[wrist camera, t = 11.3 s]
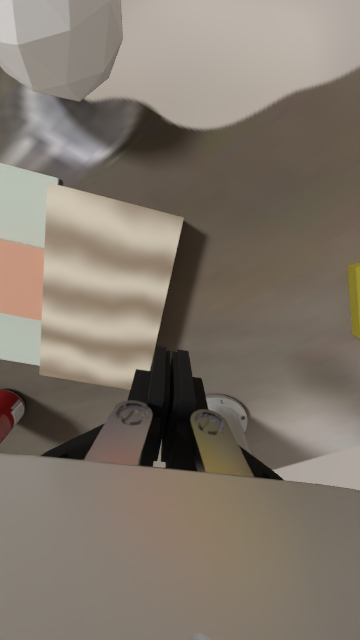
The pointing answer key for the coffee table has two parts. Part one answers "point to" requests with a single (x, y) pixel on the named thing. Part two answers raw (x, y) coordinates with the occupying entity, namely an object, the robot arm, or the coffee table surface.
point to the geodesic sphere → (60, 44)
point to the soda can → (9, 411)
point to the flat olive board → (355, 297)
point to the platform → (103, 286)
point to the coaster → (21, 279)
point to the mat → (25, 227)
